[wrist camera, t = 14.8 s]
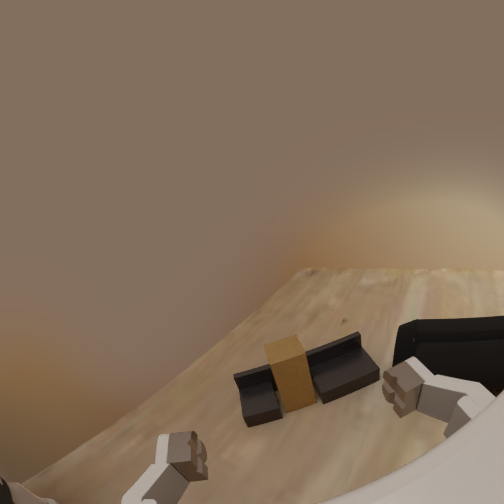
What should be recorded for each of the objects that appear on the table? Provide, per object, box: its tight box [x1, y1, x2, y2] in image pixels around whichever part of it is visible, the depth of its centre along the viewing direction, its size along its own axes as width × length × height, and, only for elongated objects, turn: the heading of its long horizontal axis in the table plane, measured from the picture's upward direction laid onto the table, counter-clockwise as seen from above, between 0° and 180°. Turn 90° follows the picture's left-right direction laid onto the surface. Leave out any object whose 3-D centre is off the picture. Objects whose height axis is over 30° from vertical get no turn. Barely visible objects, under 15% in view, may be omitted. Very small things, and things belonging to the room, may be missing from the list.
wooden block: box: [264, 335, 316, 413], centre depth 35 cm, size 4×4×10 cm
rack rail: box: [233, 332, 380, 427], centre depth 36 cm, size 7×20×5 cm, turn 97°
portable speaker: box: [392, 316, 504, 390], centre depth 24 cm, size 26×10×10 cm, turn 55°
